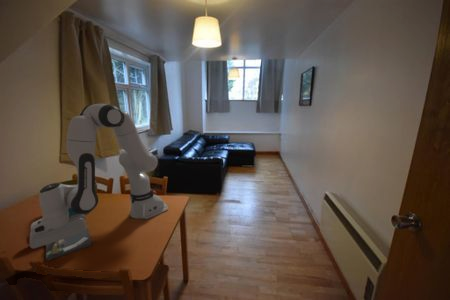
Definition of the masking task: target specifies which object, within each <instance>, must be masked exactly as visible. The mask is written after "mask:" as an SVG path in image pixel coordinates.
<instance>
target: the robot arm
mask: <svg viewBox="0 0 450 300" xmlns="http://www.w3.org/2000/svg"><path fill="white" fill-rule="evenodd" d="M100 128H111V129H112V130H113V133H114V135H115V137H116V140H117V142H118V144H119V146H120V148H121V149H122V150H124V151H122V152H121V153H120V154H119V156H118V162H119V164H120V165H121V166H122V168H123V169H124V171H125V173H126V175H127V178H128V181H129V189H130V192H129V199H130V203H131V205H130V213H129V216H130V217H131V218H133V219H144V220H149V219H151V218H153V217H156V216H157V215H160V214H163V213H165V212H166V211H168V210H169V207H168V205H167V203H165V202H164V200H163V199H162V197H161V196H158V195H157V191H156V190H154V189H152V188H151V182H150V177H149V176H148V174H146V173H147V172H153V171H154V170H155V169H156V168H157V166H158V158H157V156H155V155H154V154H153V153H152V152H151V151H150V150H149V149H148V147H147V146H146V145H145V144H144V142H143V141H142V138H141V137H140V134H139V132H138V130H137V127H136V124H135V122H134V120H133V118H132V117H131V115H130V114H129V112H128V111H125V110H121V109H120V108H119V107H117V106H115V105H114V104H107V103H90V104H88V105H85V106H84V107H83V109H82V110H81V113H80V114H79V115H76V116H73V117H72V118H71V119H70V122H69V124H68V129H67V134H66V143H65V146H66V147H65V148H66V152H67V153H66V154H67V155H68V157H69V159H71V161H72V162H73V163H74V165H75V168H76V170H77V179H78V185H64V184H61V183H59V182H54V183H50V184H47V185H45V186H43V187H42V188H41V189H40V190H39V194H38V200H39V202H38V203H39V205H40V206H39V207H40V210H41V211H42V218H39V219H37V220H35V221H34V222H32V223H31V225H30V233H29V234H30V245H29V247H30V248H31V249H37V248H40V247H43V246H46V244H49V243H52V242H55V244H57V245H58V246H59V248H63V247H66V244H65V243H66V242H67V240H68V239H67V238H68V237H71V236H74V235H77V234H80V233H83V232H85V231H86V230H87V228H88V226H87V223H86V220H87V217H86V214H88V213H91V212H92V211H94V209H95V208H96V207H97V206H98V204H99V196H98V192H97V193H96V191H95V181H96V162H95V161H96V159H95V158H96V156H95V155H96V154H95V153H96V145H97V144H96V143H97V133H98V130H99V129H100ZM69 208H72V209H73V211H74V212H75V213H77V215H72V216H69V212H68V209H69ZM62 239H64V241H63V242H62V243H60V242H59V240H62Z"/></svg>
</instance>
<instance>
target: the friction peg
mask: <svg viewBox="0 0 450 300" xmlns="http://www.w3.org/2000/svg"><path fill="white" fill-rule="evenodd" d="M63 241H64V239H62V240H59V242H60V243H62V242H63ZM59 249H60V248H59V246H58V245H57V244H55V245H54V246H53V248H52V252H53V254H56V253H58V251H59Z"/></svg>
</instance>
